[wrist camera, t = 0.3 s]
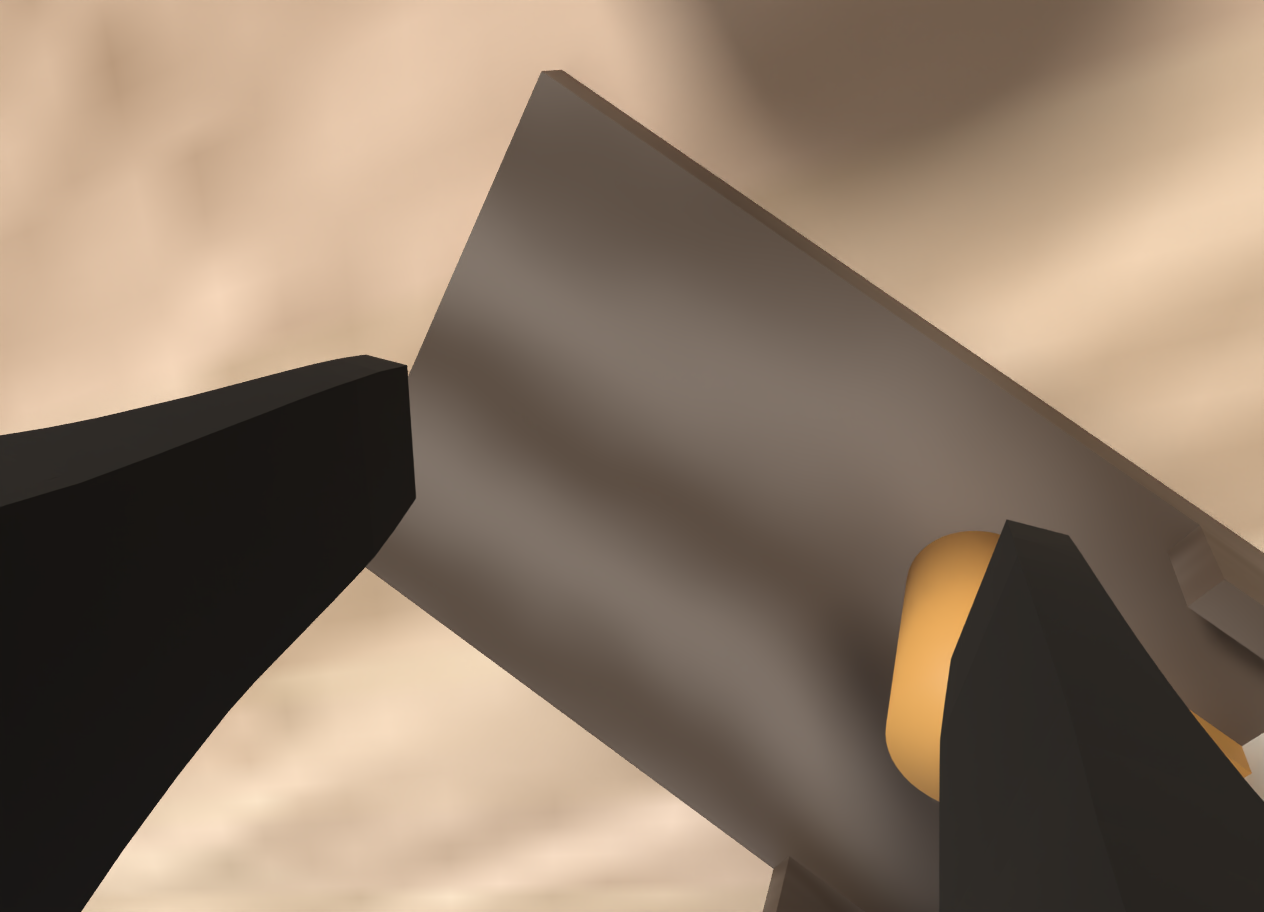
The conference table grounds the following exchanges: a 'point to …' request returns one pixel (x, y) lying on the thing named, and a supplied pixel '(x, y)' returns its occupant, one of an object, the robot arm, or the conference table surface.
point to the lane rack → (749, 499)
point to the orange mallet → (926, 646)
